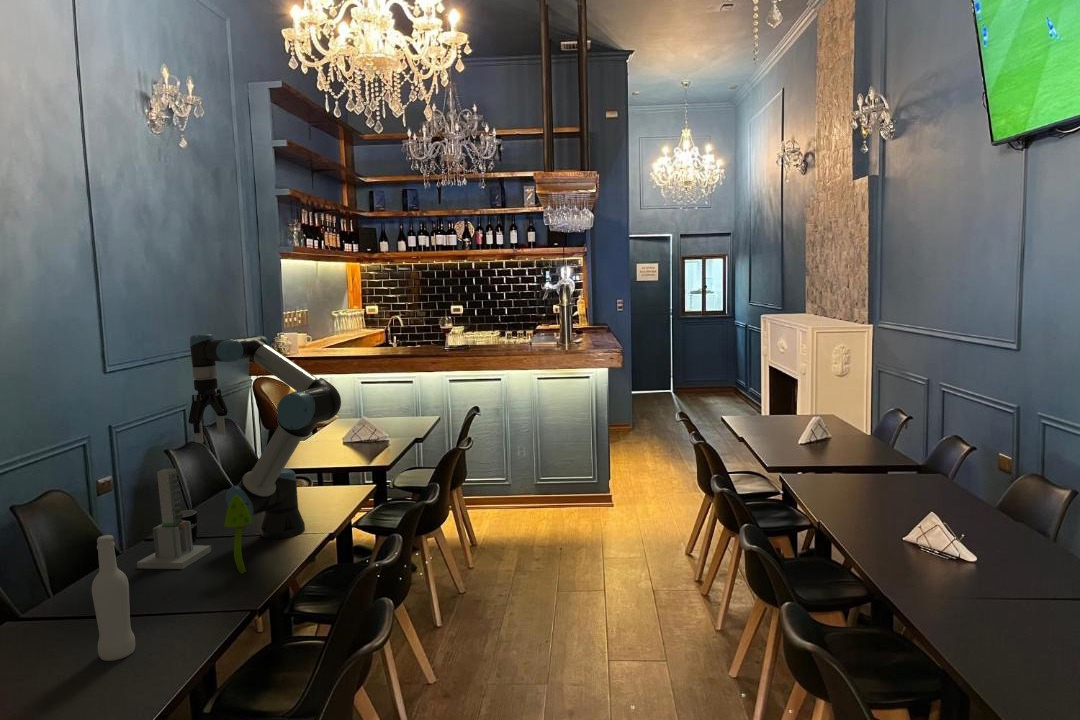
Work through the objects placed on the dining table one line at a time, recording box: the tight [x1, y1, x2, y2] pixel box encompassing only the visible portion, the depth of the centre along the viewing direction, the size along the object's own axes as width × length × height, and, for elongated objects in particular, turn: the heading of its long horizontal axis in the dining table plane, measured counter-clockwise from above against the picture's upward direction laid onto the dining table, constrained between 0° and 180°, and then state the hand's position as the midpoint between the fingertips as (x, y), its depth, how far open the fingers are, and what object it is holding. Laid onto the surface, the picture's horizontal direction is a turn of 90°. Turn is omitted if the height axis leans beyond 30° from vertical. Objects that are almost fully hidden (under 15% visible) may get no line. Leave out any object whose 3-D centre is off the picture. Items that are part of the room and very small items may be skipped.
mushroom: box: [223, 495, 254, 574], centre depth 241 cm, size 8×8×25 cm
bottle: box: [91, 534, 136, 662], centre depth 189 cm, size 8×8×30 cm
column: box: [156, 468, 183, 534], centre depth 255 cm, size 5×4×22 cm
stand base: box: [136, 521, 212, 570], centre depth 256 cm, size 16×16×13 cm
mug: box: [180, 509, 198, 543], centre depth 276 cm, size 12×9×10 cm
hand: (210, 438), depth 272 cm, fingers open, 13 cm apart
